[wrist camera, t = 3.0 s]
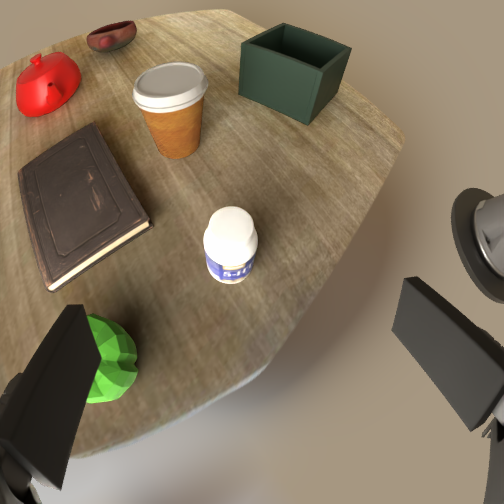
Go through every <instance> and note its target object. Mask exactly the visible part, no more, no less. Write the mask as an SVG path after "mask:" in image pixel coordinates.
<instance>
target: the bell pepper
mask: <svg viewBox="0 0 504 504" xmlns="http://www.w3.org/2000/svg"><path fill="white" fill-rule="evenodd" d="M87 318H88V321H89V324H90V327H91V330H92V333H93V336H94V338H95V341H96V344H97V346H98V349H99V352H100V354H101V357H102V360H101V362H100V365H99V368H98V370H97V373H96V376H95V378H94V381H93V384H92V387H91V390H90V392H89V395H88V398H87V401H86V402H88V403H97V402H105V401H111V400H116V399H118V398H119V397H120V396H121V395H122V394H123V393H124V392H125V391H126V390H127V389H128V388H129V387H130V386H131V385H132V384H133V383H134V381H135V379H136V376H137V373H138V371H139V370H138V369H137V368H136V366H135V365H134V363H135V361H136V360H137V352H136V345H135V343H134V341H133V339H132V338H131V337H130V336H129V334H128V333H127V332H126V331H125V330H124V329H123V328H122V327H121V326H120V325H119V324H117V323H115V322H114V321H111V320H109V319H106V318H104V317H101V316H99V315H96V314H94V313H93V314H90V315H87Z"/></svg>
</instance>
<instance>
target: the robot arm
mask: <svg viewBox="0 0 504 504" xmlns="http://www.w3.org/2000/svg"><path fill="white" fill-rule="evenodd" d="M471 232H472V236H473V240H474V243H475V246H476V248H477V251H478V253H479V255H480V257H481V259H482V260H483V262H484V264H485V265H486V266H487V268H488V269H489V270H490V271H491V272H492V273H493V274H494V275H495V276H496V277H498V278H499V279H502V280H504V194H502V195H499V196H497V197H494V198H491V199H489V200H484V201H481V202H479V205H477V206H476V207H475V208H474V210H473V212H472V214H471ZM392 332H393V333H394V334H395V335H396V336H397V338H398V339H399V340H400V341H401V342H402V344H403V345H404V346H405V347H406V348H407V350H408V351H409V352H410V353H411V355H412V356H413V357H414V358H415V359H416V361H417V362H418V363H419V365H420V366H421V367H422V368H423V370H424V371H425V372H426V373H427V374H428V376H429V377H430V378H431V380H432V381H433V382H434V384H435V385H436V386H437V387H438V389H439V390H440V391H441V393H442V394H443V395H444V396H445V398H446V399H447V401H448V402H449V403H450V405H451V406H452V407H453V409H454V410H455V411H456V412H457V414H458V415H459V417H460V418H461V419H462V421H463V422H464V423H465V425H466V426H467V427H468V429H469V431H470V432H471V431H473V430H474V429H476V428H478V427H479V426H481V425H482V424H483V423H485V421H486V420H487V418H488V417H489V416H490V414H491V413H493V414H494V416H495V417H494V419H493V420H492V421H491V423H490V424H489V425H488V427H487V428H486V429H485V430H484V432H483V433H482V437H484V436H485V435H486V434H487V433H488V432H489V430H490V429H491V432H490V433H489V435H488V437H487V438H491V445H490V461H489V471H488V479H487V486H486V492H485V498H484V504H504V347H503V346H502V347H501V344H500V343H498V342H497V341H496V340H494V338H493V337H492V336H491V335H490V334H489V333H488V332H486V331H485V330H483V329H481V328H479V327H477V326H476V325H475V324H474V323H473V322H471V321H470V320H469V319H468V318H467V317H466V316H465V315H463V314H462V313H461V312H460V311H459V310H458V309H456V308H455V307H454V306H453V305H452V304H451V303H449V302H448V301H447V300H446V299H445V298H443V297H442V296H441V295H440V294H438V293H437V292H436V291H435V290H434V289H432V288H431V287H430V286H429V285H427V284H426V283H425V282H424V281H422V280H421V279H420V278H419V277H409V278H404V281H403V285H402V290H401V295H400V299H399V303H398V308H397V311H396V315H395V320H394V323H393V327H392ZM101 360H102V357H101V354H100V352H99V349H98V346H97V344H96V341H95V338H94V336H93V333H92V330H91V327H90V324H89V321H88V318H87V315H86V312H85V309H84V306H83V304H79V305H67V306H66V307H65V309H64V310H63V311H62V313H61V314H60V316H59V317H58V319H57V320H56V322H55V323H54V324H53V326H52V327H51V329H50V330H49V332H48V333H47V335H46V336H45V338H44V340H43V341H42V343H41V344H40V346H39V347H38V349H37V351H36V352H35V354H34V355H33V357H32V359H31V360H30V362H29V364H28V365H27V367H26V369H25V370H24V372H23V373H18V374H17V375H16V376H15V377H14V378H13V379H12V380H11V381H10V382H9V383H8V385H7V387H6V389H5V390H4V395H3V394H2V396H1V398H0V504H42V502H41V500H40V498H39V496H38V494H37V492H36V489H35V488H34V486H33V485H32V484H31V483H30V482H31V478H32V477H33V478H35V479H36V480H37V481H38V482H39V483H40V484H42V485H44V486H47V487H50V488H53V489H57V490H61V489H62V484H63V480H64V476H65V472H66V468H67V464H68V460H69V457H70V453H71V449H72V446H73V442H74V439H75V435H76V432H77V429H78V426H79V422H80V419H81V416H82V413H83V410H84V407H85V404H86V401H87V398H88V395H89V392H90V390H91V387H92V384H93V381H94V378H95V376H96V373H97V370H98V368H99V365H100V362H101Z"/></svg>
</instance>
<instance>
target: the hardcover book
mask: <svg viewBox="0 0 504 504" xmlns="http://www.w3.org/2000/svg"><path fill="white" fill-rule="evenodd" d="M18 181H19V187H20V193H21V199H22V204H23V209H24V214H25V219H26V223H27V227H28V232H29V236H30V240H31V243H32V247H33V251H34V254H35V258H36V261H37V265H38V268H39V271H40V274H41V277H42V280H43V283H44V286H45V289H46V291H48V292H50V293H54V292H57V291H58V290H59V289H61V288H62V287H63V286H65V285H66V284H68V283H69V282H71V281H72V280H73V279H75V278H76V277H78V276H79V275H81V274H82V273H83V272H85V271H86V270H88V269H89V268H91V267H92V266H94V265H95V264H97V263H98V262H100V261H101V260H103V259H104V258H106V257H107V256H109V255H110V254H112V253H113V252H115V251H116V250H118V249H119V248H121V247H122V246H124V245H126V244H127V243H129V242H130V241H132V240H133V239H135V238H137V237H138V236H140V235H141V234H143V233H145V232H146V231H148V230H149V229H151V228H153V225H152V223H151V222H150V218H149V217H148V215H147V213H146V212H145V210H144V208H143V207H142V205H141V203H140V202H139V200H138V198H137V197H136V195H135V193H134V191H133V190H132V188H131V186H130V185H129V183H128V181H127V179H126V178H125V176H124V174H123V172H122V171H121V169H120V167H119V165H118V164H117V162H116V160H115V158H114V156H113V155H112V153H111V151H110V149H109V147H108V145H107V144H106V142H105V140H104V138H103V136H102V134H101V132H100V130H99V128H98V127H97V125H96V123H95V121H94V122H92V123H90V124H88V125H86V126H85V127H83V128H81V129H80V130H78V131H76V132H75V133H73V134H71V135H70V136H68V137H66V138H65V139H63V140H62V141H60V142H59V143H57V144H56V145H54V146H52V147H51V148H49V149H48V150H47V151H45V152H44V153H42V154H41V155H39V156H38V157H36V158H35V159H34V160H32V161H31V162H29V163H28V164H27V165H25V166H24V167H23V168H21V169H20V170H19V171H18Z"/></svg>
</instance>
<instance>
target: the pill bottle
mask: <svg viewBox="0 0 504 504" xmlns="http://www.w3.org/2000/svg"><path fill="white" fill-rule="evenodd" d="M257 246H258V236H257V232H256V230H255V228H254V223H253V220H252V217H251V216H250V215H249V213H248V212H246V211H245V210H243V209H241V208H239V207H233V206H229V207H224V208H221V209H219V210H218V211H216V212H215V213H214V214H213V215H212V217H211V219H210V222H209V226H208V227H207V229H206V231H205V234H204V249H205V255H206V262H207V266H208V269H209V272H210V273H211V275H212V276H213V277H214V278H215V279H217V280H219V281H221V282H223V283H237V282H240V281H242V280H243V279H245V278H246V277H247V276H248V275H249V274H250V272H251V270H252V267H253V263H254V259H255V255H256V250H257Z"/></svg>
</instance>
